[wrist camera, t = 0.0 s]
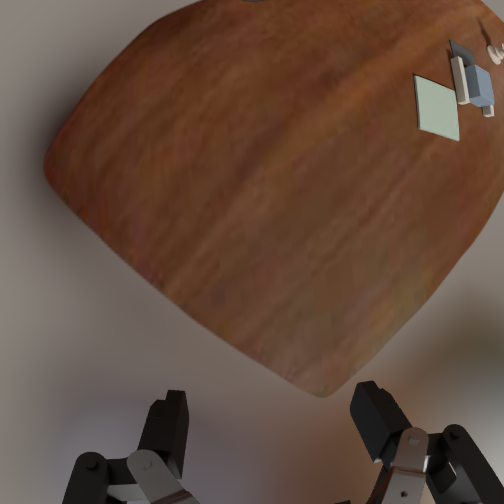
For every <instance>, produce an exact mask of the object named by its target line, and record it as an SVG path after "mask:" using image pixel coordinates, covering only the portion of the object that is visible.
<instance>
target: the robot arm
mask: <svg viewBox="0 0 504 504" xmlns="http://www.w3.org/2000/svg"><path fill="white" fill-rule="evenodd" d="M245 1H262V0H245ZM350 413H351V416H352V418H353V421H354V423H355V425H356V427H357V429H358V431H359V433H360V435H361V438H362V440H363V442H364V444H365V446H366V448H367V450H368V453H369V455H370V457H371V459H372V461H373V463H376V462H379V461H382V462H383V466H382V468H381V470H380V473H379V475H378V478H377V480H376V483H375V486H374V488H373V490H372V492H371V495H370V497H369V498H368V500H367V502H366V503H365V504H419V502H420V499H421V496H422V492H423V488H424V484H425V481H426V483H427V485H428V488H429V490H430V492H431V494H432V496H433V498H434V500H435V503H436V504H504V487H503V485H502V484H501V482H500V481H499V479H498V477H497V476H496V474H495V472H494V471H493V469H492V468H491V466H490V465H489V463H488V462H487V460H486V459H485V457H484V456H483V454H482V453H481V451H480V450H479V448H478V447H477V445H476V444H475V443H474V441H473V440H472V438H471V437H470V435H469V434H468V432H467V431H466V430H465V429H464V428H463V427H462V426H460V425H457V424H452V425H449V426H447V427H446V428H445V429H444V431H443V432H442V433H435V434H427V433H426V432H425V431H424V430H422V429H420V428H417V427H412V425H411V424H410V422H409V421H408V419H407V418H406V416H405V415H404V413H403V412H402V410H401V409H400V408H399V406H398V404H397V403H396V402H395V400H394V398H393V397H392V395H391V394H390V393H388V392H387V391H385V390H384V389H383V388H382V389H379V388H378V387H377V385H376V383H375V382H374V381H366V382H360V383H358V384H357V386H356V388H355V392H354V395H353V398H352V401H351V404H350ZM188 427H189V411H188V406H187V399H186V393H185V391H179V390H168V392H167V396H166V399H165V400H156V401H155V402H154V403H153V404H152V405H151V407H150V410H149V413H148V417H147V419H146V423H145V426H144V429H143V433H142V436H141V439H140V442H139V446H138V449H137V450H136V451H135V452H133V453H131V455H129V457H127V458H122V459H105V458H104V457H103V456H102V455H101V454H99V453H96V452H86V453H83V454H81V455H80V456H79V457H78V458H77V460H76V463H75V465H74V468H73V471H72V474H71V477H70V480H69V483H68V486H67V489H66V492H65V496H64V499H63V502H62V504H127V501H137V500H149V502H150V503H151V504H200V503H199V502H198V501H197V500H196V499H195V497H194V496H193V495H192V494H191V493H190V492H188V491H186V490H185V489H184V488H183V487H182V486H181V484H180V483H179V482H178V481H177V479H182V472H183V464H184V456H185V448H186V441H187V434H188ZM449 462H450V463H451V465H452V467H453V468H454V470H455V472H456V475H457V477H456V475H455V473H454V472H453V470H452V468H451V466H450V465H449ZM335 504H351V503H350V500H348V501H344V502H340V503H335Z"/></svg>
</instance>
